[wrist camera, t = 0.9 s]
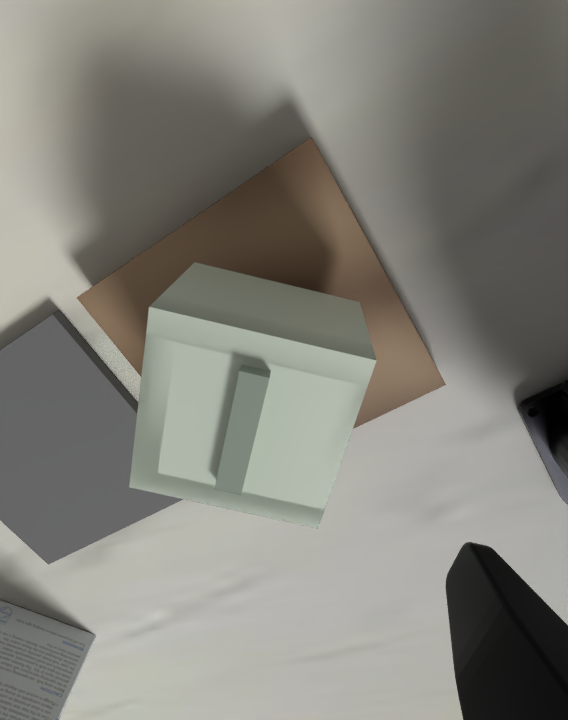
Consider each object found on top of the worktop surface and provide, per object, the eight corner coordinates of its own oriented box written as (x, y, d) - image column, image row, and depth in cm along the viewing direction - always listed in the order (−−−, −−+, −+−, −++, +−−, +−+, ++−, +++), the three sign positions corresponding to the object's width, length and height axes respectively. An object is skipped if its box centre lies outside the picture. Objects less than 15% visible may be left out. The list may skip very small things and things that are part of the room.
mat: (204, 482, 24) (201, 490, 24) (53, 556, 27) (48, 564, 27) (59, 310, 21) (52, 314, 20) (-97, 416, 24) (-106, 422, 23)
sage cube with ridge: (359, 301, 17) (378, 367, 12) (317, 437, 19) (317, 538, 14) (195, 262, 16) (144, 311, 11) (173, 405, 19) (124, 496, 14)
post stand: (437, 368, 21) (491, 466, 14) (235, 467, 24) (207, 584, 17) (311, 137, 17) (310, 133, 11) (92, 287, 20) (-10, 352, 14)
